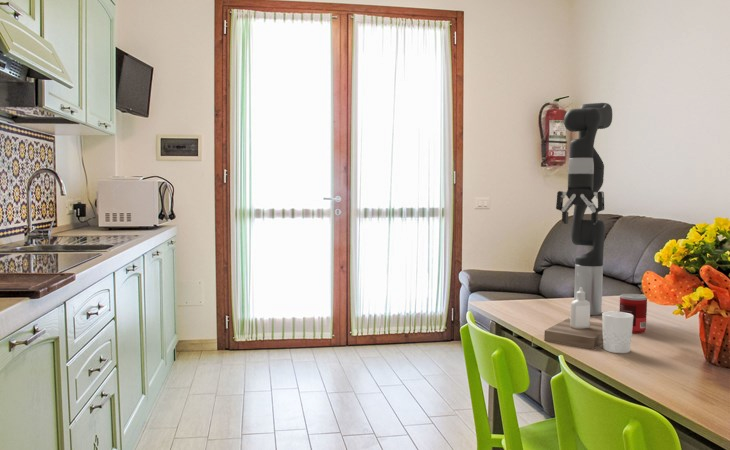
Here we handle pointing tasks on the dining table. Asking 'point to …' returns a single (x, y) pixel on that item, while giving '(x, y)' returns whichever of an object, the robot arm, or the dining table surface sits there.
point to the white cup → (617, 331)
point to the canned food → (635, 310)
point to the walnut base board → (575, 334)
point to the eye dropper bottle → (580, 311)
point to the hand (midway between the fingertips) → (579, 224)
